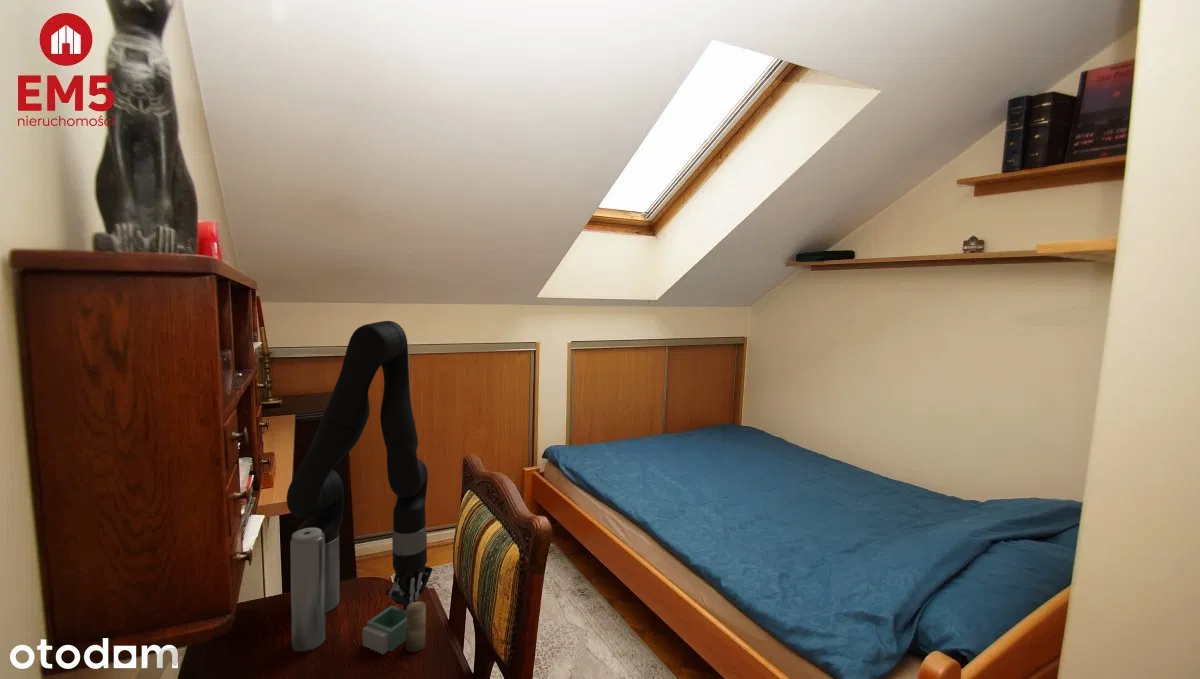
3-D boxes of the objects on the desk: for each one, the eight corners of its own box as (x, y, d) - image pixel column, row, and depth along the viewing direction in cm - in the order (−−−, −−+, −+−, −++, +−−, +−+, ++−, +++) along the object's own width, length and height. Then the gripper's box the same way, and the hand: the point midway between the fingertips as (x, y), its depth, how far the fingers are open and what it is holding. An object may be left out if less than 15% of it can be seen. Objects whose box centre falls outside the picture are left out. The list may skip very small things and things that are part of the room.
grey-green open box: (366, 641, 115) (366, 622, 114) (391, 623, 121) (391, 605, 121) (390, 651, 112) (391, 632, 111) (415, 632, 118) (415, 613, 118)
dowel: (401, 648, 113) (402, 609, 112) (415, 637, 116) (415, 599, 116) (415, 654, 111) (416, 614, 111) (429, 643, 115) (429, 604, 114)
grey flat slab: (362, 646, 113) (362, 628, 113) (367, 642, 114) (367, 625, 114) (383, 654, 111) (383, 636, 110) (388, 650, 112) (388, 633, 112)
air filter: (310, 654, 110) (309, 541, 108) (284, 649, 111) (282, 537, 109) (332, 635, 116) (331, 527, 114) (307, 630, 118) (306, 524, 116)
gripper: (417, 530, 128) (418, 597, 129) (375, 555, 116) (376, 628, 117) (441, 537, 125) (442, 605, 126) (401, 562, 113) (401, 637, 114)
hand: (410, 616), depth 122 cm, fingers closed
